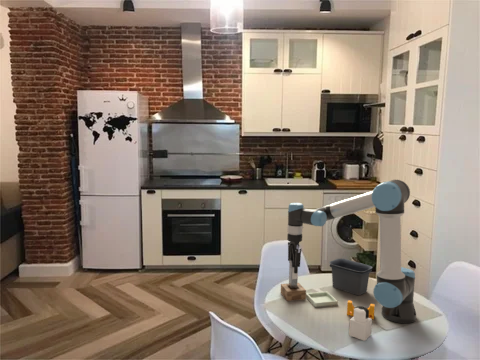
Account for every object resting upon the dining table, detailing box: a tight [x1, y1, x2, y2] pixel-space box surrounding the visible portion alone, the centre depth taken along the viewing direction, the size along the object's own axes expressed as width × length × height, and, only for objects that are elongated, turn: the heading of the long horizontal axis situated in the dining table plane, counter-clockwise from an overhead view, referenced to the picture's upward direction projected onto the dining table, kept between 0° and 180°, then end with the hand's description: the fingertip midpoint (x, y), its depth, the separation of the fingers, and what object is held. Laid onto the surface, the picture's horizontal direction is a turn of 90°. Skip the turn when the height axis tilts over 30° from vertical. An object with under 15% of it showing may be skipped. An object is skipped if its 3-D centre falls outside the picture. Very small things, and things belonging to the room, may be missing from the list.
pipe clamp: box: [346, 299, 376, 321], centre depth 185 cm, size 12×4×6 cm, turn 70°
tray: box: [306, 290, 339, 308], centre depth 200 cm, size 12×12×2 cm
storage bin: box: [328, 257, 373, 296], centre depth 215 cm, size 21×16×14 cm
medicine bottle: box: [348, 305, 373, 342], centre depth 166 cm, size 7×7×12 cm
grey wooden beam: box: [288, 260, 299, 288], centre depth 204 cm, size 3×3×14 cm
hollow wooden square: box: [280, 282, 307, 302], centre depth 205 cm, size 10×10×5 cm
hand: (293, 277), depth 204 cm, fingers closed on grey wooden beam, 3 cm apart
